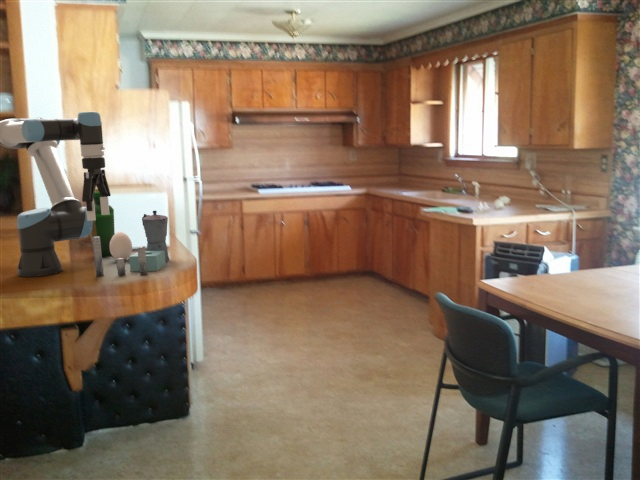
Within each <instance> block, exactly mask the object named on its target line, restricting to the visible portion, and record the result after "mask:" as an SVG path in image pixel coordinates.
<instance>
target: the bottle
mask: <svg viewBox="0 0 640 480" xmlns="http://www.w3.org/2000/svg"><path fill="white" fill-rule="evenodd" d="M100 197H101V195H100V193H99V190H98V188H97V187H95V192H94V197H93V201H94V205H95V215H96V220H94V221H93V226H92V231H91V233H90V234H89V236H90V242H91V246H92V249H93V241H92V237H97V236H99V237H100V243H101V253H102V258H106V257H111V256H112V255H111V252H110V247H109V245H110V241H111V238H112V237H113V235H114V234H116V233H115V210H114V208H113V206H111V205H110V204H109V213H110V215H101V204H100ZM92 253H93V255H94V251H93V250H92Z"/></svg>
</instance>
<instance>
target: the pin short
mask: <svg viewBox="0 0 640 480" xmlns="http://www.w3.org/2000/svg"><path fill="white" fill-rule="evenodd" d="M115 260H116V269H117V276H118V277H123V276H124V275H125V276H126V265H125V260H124V258H118V259H115Z"/></svg>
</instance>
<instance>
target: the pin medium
mask: <svg viewBox="0 0 640 480" xmlns="http://www.w3.org/2000/svg"><path fill="white" fill-rule="evenodd" d="M146 251H147V250H146V246H143V245H141V246H137V252H138V258H139V269H140V271H139V275H140V276H148V271H147V262H146Z"/></svg>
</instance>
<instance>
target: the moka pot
mask: <svg viewBox="0 0 640 480" xmlns="http://www.w3.org/2000/svg"><path fill="white" fill-rule="evenodd" d="M157 212H158V211H157V210H153V211H152V214H151V215H150V214H146V213H144V214H143V216H142V217H141V222H142V226H143V230H144V233H145V237H146V241H147V244H146V251H165V263H166V262H169V260H170V257H169V253H168V252H169V251H168V248H167V237H168V235H167V234H168V223H169V222H168V216H166V215H161V214H157Z"/></svg>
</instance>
